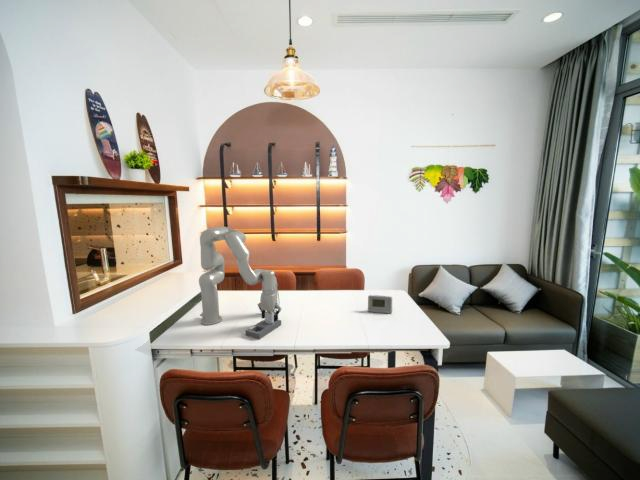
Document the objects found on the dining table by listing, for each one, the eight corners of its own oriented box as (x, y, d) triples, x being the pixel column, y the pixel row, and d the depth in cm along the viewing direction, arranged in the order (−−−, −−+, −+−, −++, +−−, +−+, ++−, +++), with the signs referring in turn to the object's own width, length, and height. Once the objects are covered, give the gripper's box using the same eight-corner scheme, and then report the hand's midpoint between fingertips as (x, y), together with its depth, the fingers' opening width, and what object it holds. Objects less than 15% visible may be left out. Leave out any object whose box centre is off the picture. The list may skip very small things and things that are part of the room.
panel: (245, 335, 153) (245, 330, 153) (268, 321, 171) (267, 316, 170) (259, 339, 148) (259, 333, 148) (281, 324, 166) (281, 319, 166)
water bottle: (269, 317, 178) (268, 279, 174) (264, 313, 184) (263, 277, 181) (282, 313, 183) (281, 277, 180) (276, 310, 189) (275, 274, 186)
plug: (265, 327, 164) (264, 311, 162) (269, 324, 167) (268, 309, 166) (270, 328, 162) (270, 312, 160) (274, 325, 165) (274, 310, 164)
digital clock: (366, 312, 185) (366, 296, 183) (369, 307, 193) (370, 292, 191) (391, 315, 178) (391, 300, 177) (393, 310, 186) (393, 295, 185)
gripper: (253, 291, 162) (254, 318, 165) (276, 295, 154) (277, 324, 157) (261, 287, 169) (262, 314, 171) (284, 291, 161) (285, 319, 163)
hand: (269, 319), depth 164 cm, fingers open, 8 cm apart
